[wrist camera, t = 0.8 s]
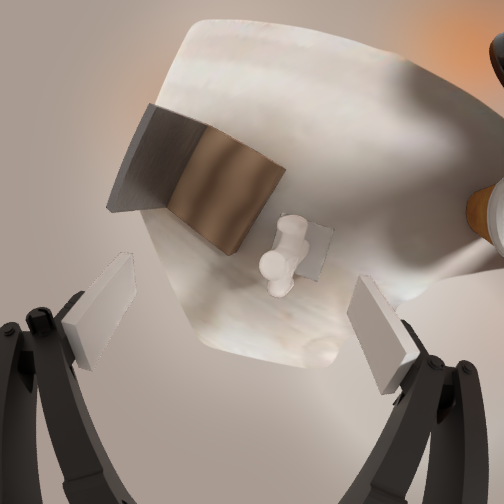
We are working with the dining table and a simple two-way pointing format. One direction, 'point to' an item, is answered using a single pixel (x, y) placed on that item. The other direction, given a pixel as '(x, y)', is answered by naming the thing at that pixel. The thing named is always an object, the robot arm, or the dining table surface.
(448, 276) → the dining table surface
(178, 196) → the walnut shelf board
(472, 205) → the disposable coffee cup
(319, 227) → the figurine
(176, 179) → the grey metal bookend
